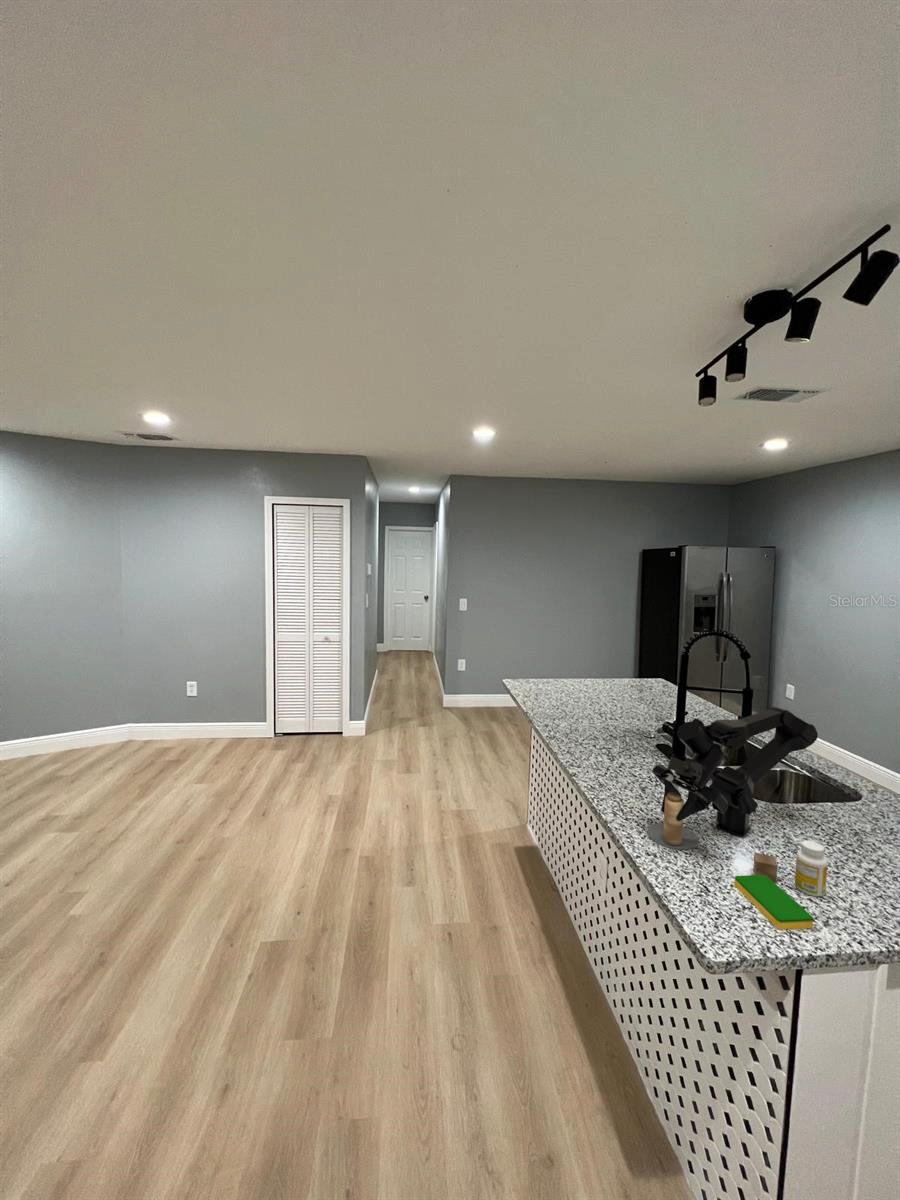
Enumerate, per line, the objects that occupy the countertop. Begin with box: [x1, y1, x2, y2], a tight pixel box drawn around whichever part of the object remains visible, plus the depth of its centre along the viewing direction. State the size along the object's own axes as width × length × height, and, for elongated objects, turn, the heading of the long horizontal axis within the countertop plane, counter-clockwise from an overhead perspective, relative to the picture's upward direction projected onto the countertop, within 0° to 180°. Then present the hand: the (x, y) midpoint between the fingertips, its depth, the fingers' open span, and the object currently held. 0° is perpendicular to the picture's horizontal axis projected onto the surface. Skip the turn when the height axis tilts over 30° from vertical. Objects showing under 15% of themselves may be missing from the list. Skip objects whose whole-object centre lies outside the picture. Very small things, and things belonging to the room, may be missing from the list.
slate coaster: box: [646, 822, 700, 851], centre depth 131 cm, size 12×12×1 cm
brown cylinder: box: [663, 792, 685, 845], centre depth 127 cm, size 4×4×12 cm
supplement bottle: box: [794, 840, 828, 897], centre depth 110 cm, size 5×5×10 cm
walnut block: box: [753, 851, 778, 884], centre depth 115 cm, size 4×4×4 cm
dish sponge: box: [734, 874, 814, 931], centre depth 105 cm, size 7×14×2 cm, turn 4°
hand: (669, 815), depth 127 cm, fingers closed on brown cylinder, 4 cm apart
